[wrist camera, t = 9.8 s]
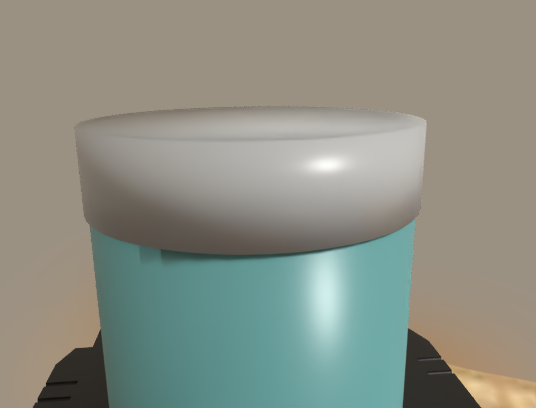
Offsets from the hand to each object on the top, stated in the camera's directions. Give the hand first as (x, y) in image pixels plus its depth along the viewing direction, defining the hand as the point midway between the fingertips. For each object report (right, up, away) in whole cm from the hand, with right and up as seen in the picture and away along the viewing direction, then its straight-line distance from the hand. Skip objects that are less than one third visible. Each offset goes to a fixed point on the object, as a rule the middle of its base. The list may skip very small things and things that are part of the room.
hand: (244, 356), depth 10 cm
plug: (0, -8, -1) cm, 8 cm away
